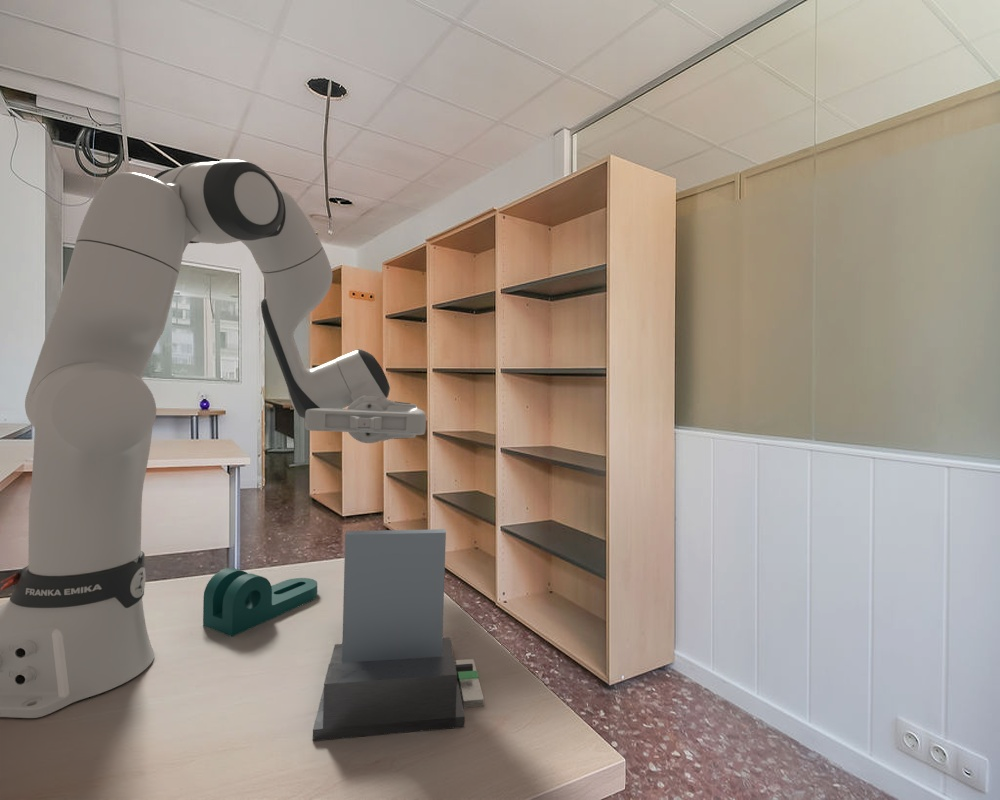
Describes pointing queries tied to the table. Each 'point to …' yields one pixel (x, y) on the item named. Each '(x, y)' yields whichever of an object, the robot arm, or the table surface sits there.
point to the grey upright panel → (394, 595)
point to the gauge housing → (395, 695)
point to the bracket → (250, 600)
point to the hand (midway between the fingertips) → (364, 424)
